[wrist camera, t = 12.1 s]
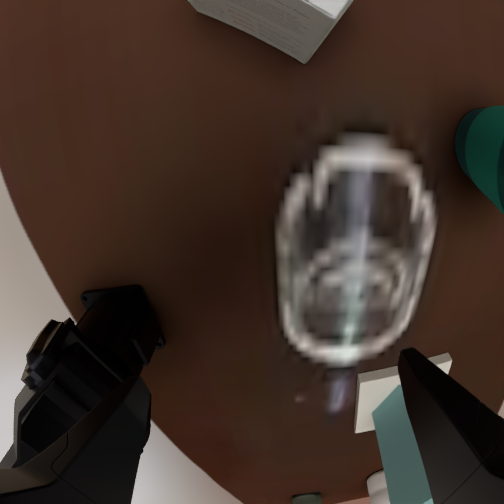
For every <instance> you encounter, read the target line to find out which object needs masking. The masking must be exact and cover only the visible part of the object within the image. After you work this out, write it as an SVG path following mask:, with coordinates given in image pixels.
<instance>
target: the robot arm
mask: <svg viewBox="0 0 504 504" xmlns="http://www.w3.org/2000/svg"><path fill="white" fill-rule="evenodd" d="M135 290H136V291H138V293H137V292H135ZM80 298H81V300H82V302H83V304H84V306H85V308H86V310H87V311H86V313H85V314H84V315H83V317H82V318H81V319H80V321H79V322H78V323H77V325H75V324H74V321H73V320H72V319H71V318H68V319H67V320H66V321H64V322H57V321H55V320H50V321H49V322H48V323H47V325H46V326H45V327H44V328H43V330H42V331H41V332H40V333H39V335H38V336H37V338H36V339H35V341H34V342H33V344H32V346H31V348H30V349H29V351H28V353H27V355H26V356H27V364H26V367H25V370H24V373H23V376H22V378H21V380H22V381H23V382H24V383H25V384H26V385H25V386H24V388H23V389H22V390H21V392H20V393H19V394H18V396H17V397H16V399H15V407H14V442H13V444H12V446H11V447H10V449H9V451H8V452H7V454H6V455H5V457H4V458H3V459H2V461H1V462H0V504H131V500H132V495H133V489H134V484H135V479H136V474H137V469H138V464H139V459H140V455H141V453H143V448H144V446H145V445H146V443H147V441H148V438H149V435H150V427H151V424H150V419H151V394H150V392H149V389H148V387H147V386H146V384H145V383H144V381H143V379H142V378H141V377H140V373H141V371H142V369H143V366H147V365H148V363H149V362H150V359H151V357H152V354H153V352H154V350H155V349H161V348H164V346H165V343H166V342H165V339H164V337H163V335H162V331H161V328H160V326H159V324H158V322H157V320H156V317H155V315H154V313H153V310H152V309H151V308H150V306H149V304H148V301H147V299H146V296H145V294H144V292H143V289H142V288H141V287H140V286H138V285H132V286H125V287H117V288H109V289H101V290H93V291H85V292H83V293H82V294H81V296H80ZM159 342H160V343H159ZM398 374H399V378H400V383H401V387H402V392H403V397H404V401H405V406H406V410H407V414H408V417H409V420H410V423H411V426H412V429H413V432H414V435H415V439H416V442H417V445H418V448H419V452H420V455H421V459H422V462H423V466H424V469H425V473H426V476H427V480H428V484H429V488H430V492H431V496H432V500H433V504H504V418H502V417H501V416H499V415H498V414H496V413H495V412H494V411H493V410H491V409H490V408H489V407H487V406H486V405H485V404H484V403H483V402H481V403H480V400H479V399H477V398H476V397H475V396H474V395H473V394H471V393H470V392H469V391H468V390H466V389H465V388H464V387H463V386H461V385H460V384H459V383H458V382H456V381H455V380H454V379H453V378H451V377H450V376H449V375H448V374H446V373H445V372H444V371H443V370H441V369H440V368H439V367H438V366H436V365H435V364H434V363H433V362H431V361H430V360H429V359H428V358H426V357H425V356H424V355H422V354H421V353H420V352H419V351H417V350H416V349H415V348H413V347H408V348H403V349H401V351H400V354H399V361H398Z"/></svg>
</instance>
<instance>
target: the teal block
mask: <svg viewBox="0 0 504 504" xmlns="http://www.w3.org/2000/svg"><path fill="white" fill-rule="evenodd" d="M372 417H373V422H374V426H375V430H376V435H377V439H378V444H379V449H380V453H381V458H382V463H383V468H384V473H385V479H386V484H387V489H388V495H389V501H390V504H433V500H432V496H431V492H430V488H429V484H428V480H427V476H426V473H425V469H424V466H423V462H422V459H421V455H420V452H419V448H418V445H417V442H416V439H415V435H414V432H413V429H412V426H411V423H410V420H409V417H408V414H407V410H406V406H405V401H404V397H403V392H402V387H401V385H398V386H397V387H396V388H395V389H394V390H393V391H392V392H391V393H390V395H389V396H388V397H387V398H386V399H385V400H384V401H383V402H382V403H381V404H380V405H379V406H378V407H377V408H376V409H375V410H374V411H373V412H372Z"/></svg>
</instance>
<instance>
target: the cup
mask: <svg viewBox="0 0 504 504" xmlns="http://www.w3.org/2000/svg"><path fill="white" fill-rule="evenodd" d="M455 152H456V156H457V160H458V162H459V165H460V167H461V168H462V170H463V171H464V173H465V174H466V175H467V176H468V177H469V178H470V179H471V180H472V181H473V182H474V183H475V185H476V186H477V187H478V189H479V190H480V191H482V192H483V193H484V194H485V195H486V197H487V198H488V199H489V200H490V201H491V202H492V203H493V204H494V205H495V206H496V207H497V208H498V209H499V210H500V211H501V212H502V213H503V214H504V106H492V107H488V108H478V109H475V110H472V111H470V112H469V113H468V114H466V115H465V116H464V118H463V119H462V120H461V122H460V124H459V126H458V128H457V131H456V136H455Z"/></svg>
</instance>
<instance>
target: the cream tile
mask: <svg viewBox="0 0 504 504" xmlns="http://www.w3.org/2000/svg"><path fill="white" fill-rule="evenodd" d="M428 359H429V360H430V361H431V362H433V363H434V364H435V365H436V366H438V367H439V368H440V369H441V370H443V371H444V372H445V373H446V374H448V372H449V369H450V366H451V363H452V359H451V357H450V355H449V353H444V354H441V355H437V356H434V357H430V358H428ZM398 385H401V383H400V378H399V374H398V366H394V367H390V368H385V369H381V370H376V371H371V372H366V373H361V374H358V378H357V394H356V408H355V419H354V429H355V433H360V432H365V431H370V430H375V426H374V422H373V417H372V412H373V411H374V410H375V409H376V408H377V407H378V406H379V405H380V404H381V403H382V402H383V401H384V400H385V399H386V398H387V397H388V396H389V395H390V393H391V392H392V391H393V390H394V389H395V388H396V387H397V386H398Z"/></svg>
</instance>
